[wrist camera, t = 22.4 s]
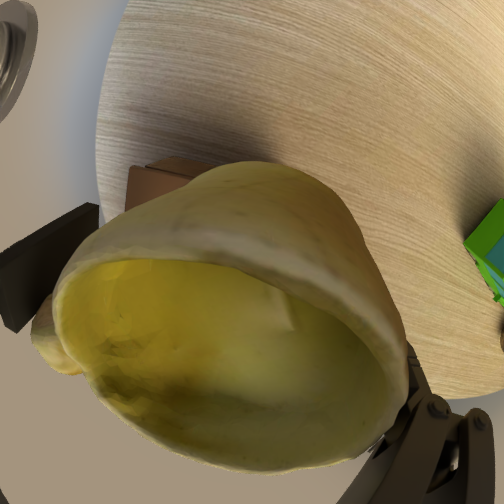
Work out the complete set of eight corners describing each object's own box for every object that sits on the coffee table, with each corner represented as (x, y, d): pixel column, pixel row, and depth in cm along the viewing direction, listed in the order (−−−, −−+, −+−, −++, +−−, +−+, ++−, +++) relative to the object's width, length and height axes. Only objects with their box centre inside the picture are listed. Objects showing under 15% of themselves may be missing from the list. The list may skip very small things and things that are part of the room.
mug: (427, 143, 8) (511, 474, 1) (353, 316, 15) (312, 496, 8) (130, 95, 11) (-70, 231, 4) (157, 259, 18) (66, 391, 11)
